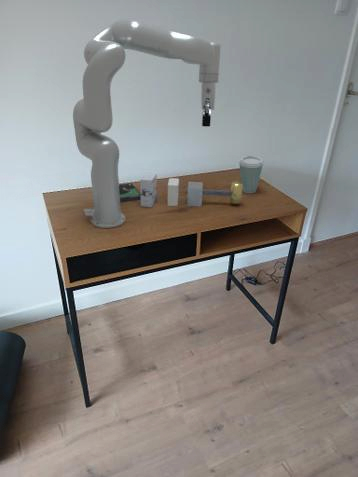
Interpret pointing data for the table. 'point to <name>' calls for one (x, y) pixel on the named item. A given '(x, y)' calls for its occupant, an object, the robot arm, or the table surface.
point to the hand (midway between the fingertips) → (206, 123)
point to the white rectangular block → (173, 192)
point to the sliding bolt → (226, 192)
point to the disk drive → (128, 193)
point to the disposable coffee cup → (250, 172)
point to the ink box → (148, 189)
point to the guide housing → (195, 194)
